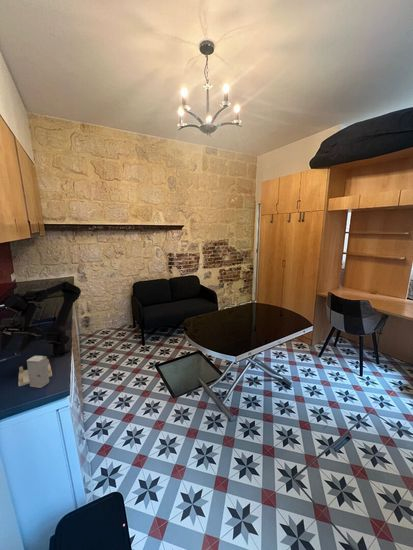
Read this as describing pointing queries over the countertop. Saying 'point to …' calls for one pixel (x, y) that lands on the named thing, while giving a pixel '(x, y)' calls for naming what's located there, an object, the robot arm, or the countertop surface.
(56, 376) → the countertop surface
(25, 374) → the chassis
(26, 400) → the countertop surface
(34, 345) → the countertop surface
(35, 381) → the skincare box
